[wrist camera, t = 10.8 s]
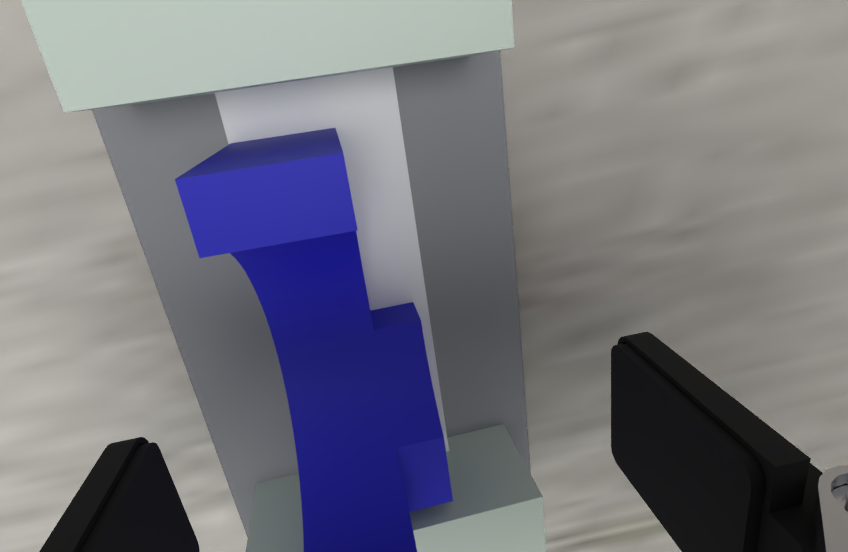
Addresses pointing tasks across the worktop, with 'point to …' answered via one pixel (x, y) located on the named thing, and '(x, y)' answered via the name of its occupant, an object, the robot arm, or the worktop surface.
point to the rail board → (373, 206)
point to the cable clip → (327, 338)
